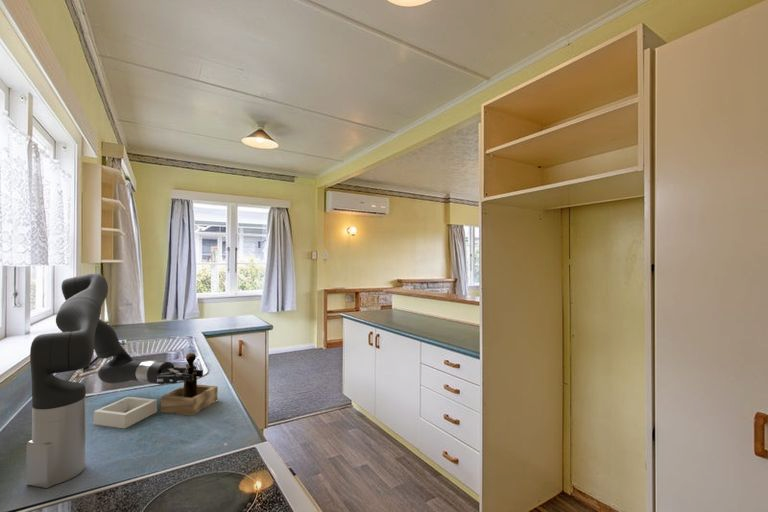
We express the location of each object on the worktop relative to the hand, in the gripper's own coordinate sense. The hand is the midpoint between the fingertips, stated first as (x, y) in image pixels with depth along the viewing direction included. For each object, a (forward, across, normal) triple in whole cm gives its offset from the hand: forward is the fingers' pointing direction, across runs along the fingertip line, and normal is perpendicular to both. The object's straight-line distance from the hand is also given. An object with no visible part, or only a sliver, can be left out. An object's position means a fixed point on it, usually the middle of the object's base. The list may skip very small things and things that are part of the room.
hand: (197, 375), depth 120 cm
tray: (-16, -12, +11) cm, 22 cm away
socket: (-3, 0, +10) cm, 11 cm away
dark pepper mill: (-3, 0, +11) cm, 11 cm away
